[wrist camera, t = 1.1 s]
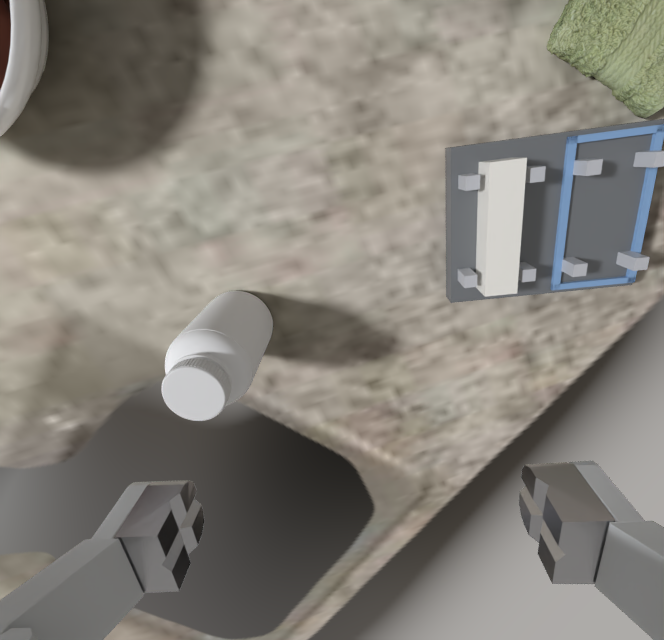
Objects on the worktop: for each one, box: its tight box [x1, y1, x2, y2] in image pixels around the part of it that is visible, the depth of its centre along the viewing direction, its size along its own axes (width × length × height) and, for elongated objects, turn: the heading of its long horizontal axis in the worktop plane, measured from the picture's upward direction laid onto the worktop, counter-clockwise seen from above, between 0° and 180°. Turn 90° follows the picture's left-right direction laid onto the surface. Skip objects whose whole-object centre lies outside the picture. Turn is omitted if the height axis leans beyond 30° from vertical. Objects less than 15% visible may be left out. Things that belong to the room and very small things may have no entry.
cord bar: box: [476, 157, 527, 297], centre depth 35 cm, size 12×3×3 cm, turn 7°
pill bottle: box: [162, 291, 273, 421], centre depth 37 cm, size 8×8×15 cm
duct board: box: [445, 119, 664, 303], centre depth 36 cm, size 15×18×4 cm
